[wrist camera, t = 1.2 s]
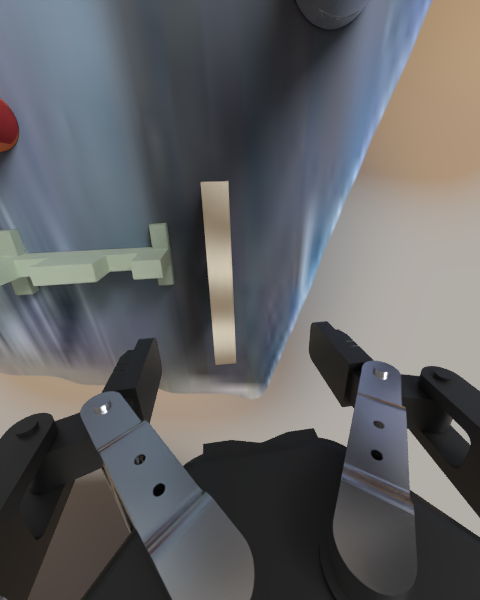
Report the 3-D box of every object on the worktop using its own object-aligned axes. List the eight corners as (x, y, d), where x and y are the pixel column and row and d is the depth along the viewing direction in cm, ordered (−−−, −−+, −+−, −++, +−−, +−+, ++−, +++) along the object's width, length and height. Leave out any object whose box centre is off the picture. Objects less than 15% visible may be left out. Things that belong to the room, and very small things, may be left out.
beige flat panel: (202, 188, 32) (200, 182, 18) (218, 188, 32) (228, 181, 18) (211, 303, 38) (215, 365, 24) (224, 302, 38) (236, 362, 24)
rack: (-1, 230, 30) (-66, 240, 23) (166, 223, 33) (155, 230, 25) (23, 291, 33) (-28, 317, 26) (174, 281, 36) (166, 302, 28)
